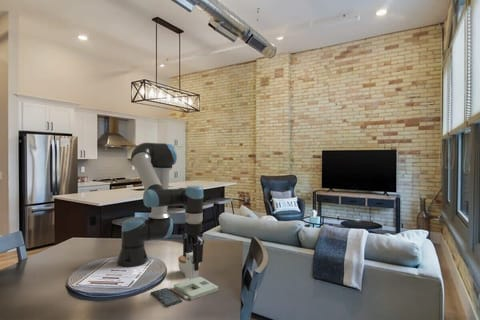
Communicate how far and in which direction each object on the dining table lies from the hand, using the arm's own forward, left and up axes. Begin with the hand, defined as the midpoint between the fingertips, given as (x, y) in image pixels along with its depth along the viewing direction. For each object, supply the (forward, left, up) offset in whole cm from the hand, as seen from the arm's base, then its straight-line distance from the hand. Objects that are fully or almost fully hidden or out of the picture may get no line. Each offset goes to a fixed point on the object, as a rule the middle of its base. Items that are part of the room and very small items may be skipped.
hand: (191, 275), depth 127 cm
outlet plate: (0, +3, -7) cm, 7 cm away
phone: (-1, -11, -7) cm, 14 cm away
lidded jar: (-17, +10, -7) cm, 21 cm away
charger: (0, 0, 0) cm, 0 cm away
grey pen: (-1, -6, -7) cm, 9 cm away
